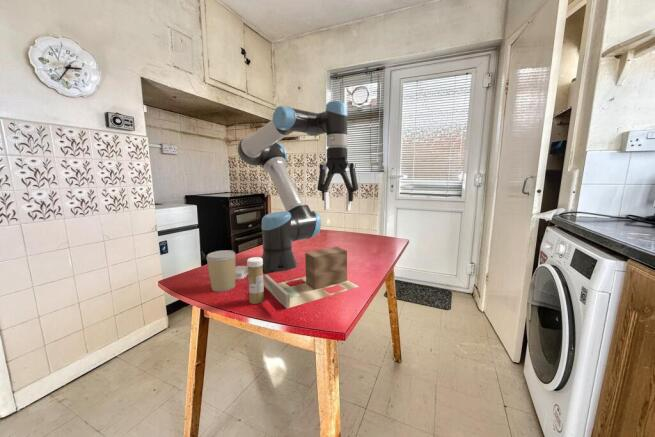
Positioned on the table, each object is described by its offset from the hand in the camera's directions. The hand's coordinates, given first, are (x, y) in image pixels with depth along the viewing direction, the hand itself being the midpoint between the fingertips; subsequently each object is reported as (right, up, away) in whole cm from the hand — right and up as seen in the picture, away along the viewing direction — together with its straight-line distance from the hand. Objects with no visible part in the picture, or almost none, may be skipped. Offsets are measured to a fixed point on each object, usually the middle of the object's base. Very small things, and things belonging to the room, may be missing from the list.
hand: (337, 209), depth 97 cm
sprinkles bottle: (-25, -29, -18) cm, 42 cm away
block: (-4, -25, -8) cm, 27 cm away
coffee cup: (-40, -27, -7) cm, 49 cm away
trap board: (-9, -27, -11) cm, 31 cm away
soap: (-38, -26, +5) cm, 46 cm away
